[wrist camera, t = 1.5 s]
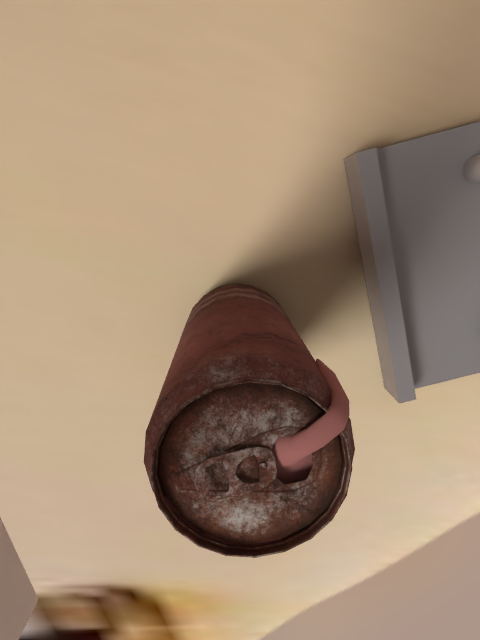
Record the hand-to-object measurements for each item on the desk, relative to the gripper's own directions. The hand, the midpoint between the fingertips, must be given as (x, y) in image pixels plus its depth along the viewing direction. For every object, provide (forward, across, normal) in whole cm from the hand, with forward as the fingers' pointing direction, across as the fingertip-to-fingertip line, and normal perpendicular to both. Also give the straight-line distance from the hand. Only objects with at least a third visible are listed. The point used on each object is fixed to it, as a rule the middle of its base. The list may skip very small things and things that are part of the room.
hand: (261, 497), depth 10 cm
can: (+15, 0, 0) cm, 15 cm away
